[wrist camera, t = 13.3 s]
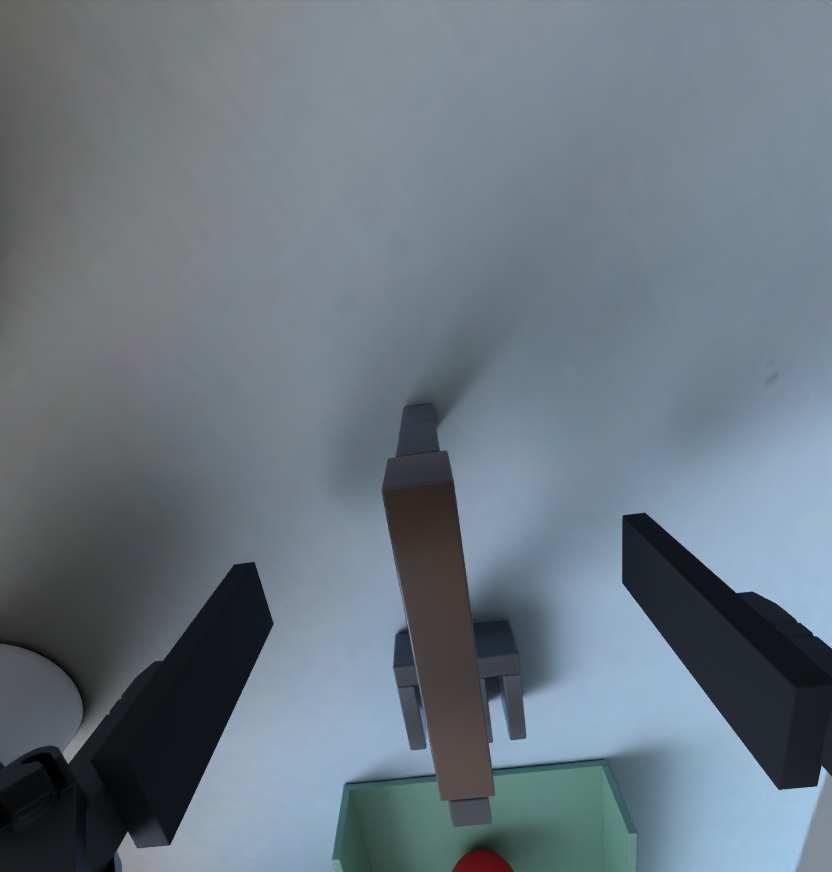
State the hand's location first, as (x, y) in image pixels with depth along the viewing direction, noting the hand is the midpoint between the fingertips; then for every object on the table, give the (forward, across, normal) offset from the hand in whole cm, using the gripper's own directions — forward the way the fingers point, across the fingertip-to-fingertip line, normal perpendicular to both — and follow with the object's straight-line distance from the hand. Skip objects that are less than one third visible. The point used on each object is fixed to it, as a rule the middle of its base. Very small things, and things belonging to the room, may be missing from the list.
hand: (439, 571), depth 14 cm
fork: (+4, 0, -3) cm, 5 cm away
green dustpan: (+4, 0, -26) cm, 26 cm away
